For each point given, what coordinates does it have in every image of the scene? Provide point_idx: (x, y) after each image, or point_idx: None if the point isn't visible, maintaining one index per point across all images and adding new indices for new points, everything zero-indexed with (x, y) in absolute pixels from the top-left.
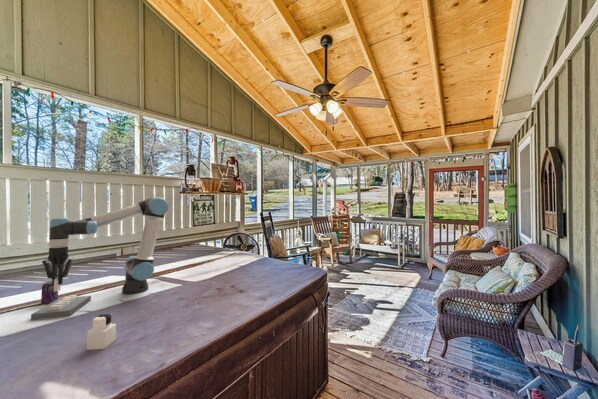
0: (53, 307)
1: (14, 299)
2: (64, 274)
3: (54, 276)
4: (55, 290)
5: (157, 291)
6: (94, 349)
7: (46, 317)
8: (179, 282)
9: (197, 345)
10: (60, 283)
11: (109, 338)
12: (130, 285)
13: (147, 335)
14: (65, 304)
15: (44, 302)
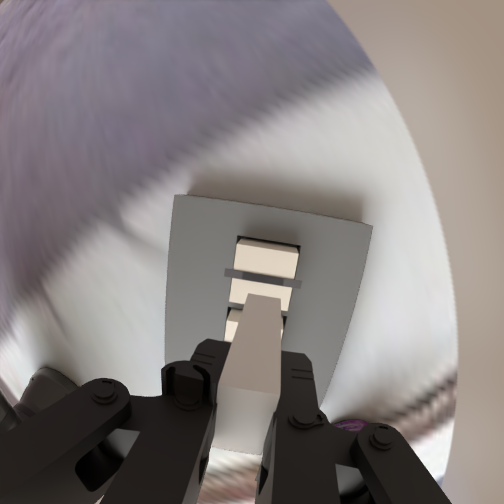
0: (274, 248)
1: (433, 463)
2: (69, 410)
3: (276, 443)
4: (263, 300)
5: (7, 342)
6: None
7: (295, 210)
8: (2, 385)
9: (2, 3)
10: (204, 347)
11: None
12: (45, 396)
13: (21, 17)
14: (235, 313)
15: (360, 423)
